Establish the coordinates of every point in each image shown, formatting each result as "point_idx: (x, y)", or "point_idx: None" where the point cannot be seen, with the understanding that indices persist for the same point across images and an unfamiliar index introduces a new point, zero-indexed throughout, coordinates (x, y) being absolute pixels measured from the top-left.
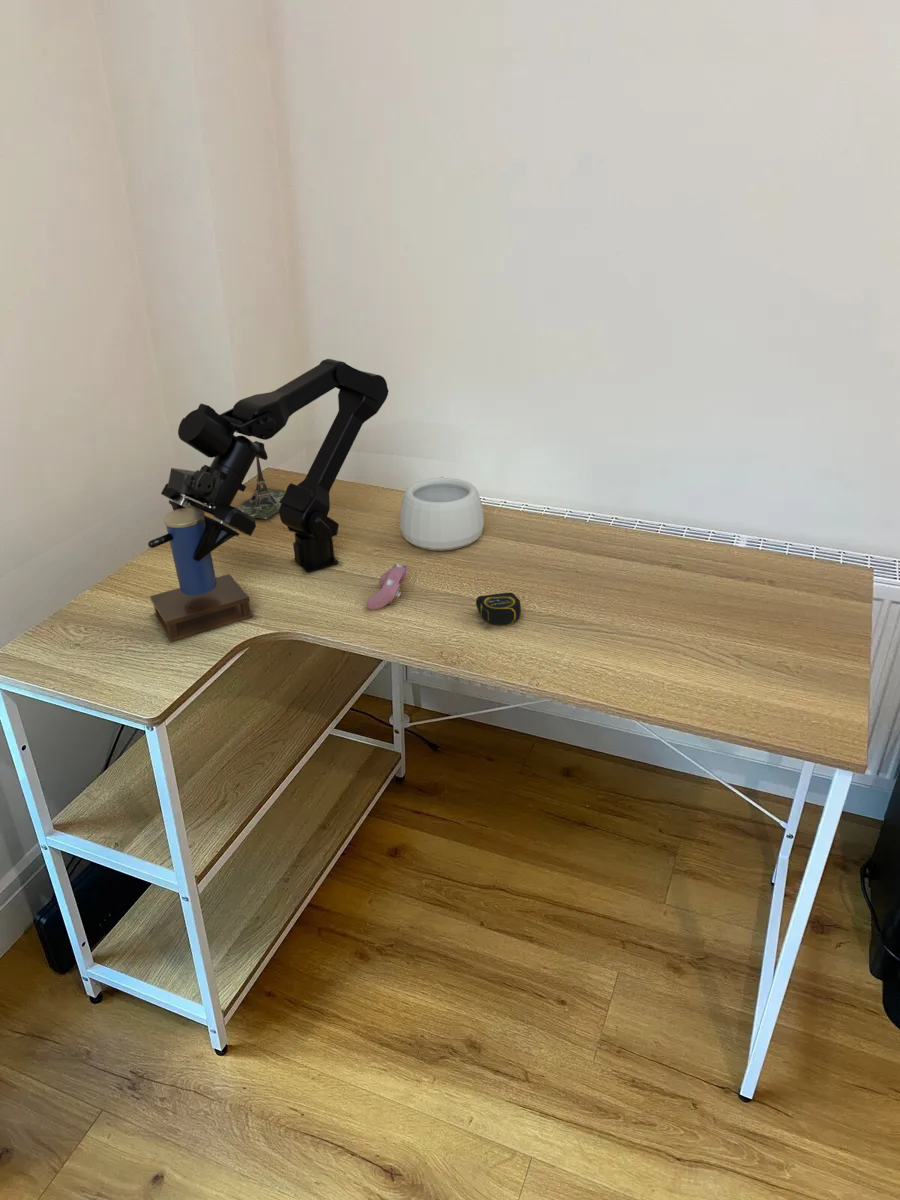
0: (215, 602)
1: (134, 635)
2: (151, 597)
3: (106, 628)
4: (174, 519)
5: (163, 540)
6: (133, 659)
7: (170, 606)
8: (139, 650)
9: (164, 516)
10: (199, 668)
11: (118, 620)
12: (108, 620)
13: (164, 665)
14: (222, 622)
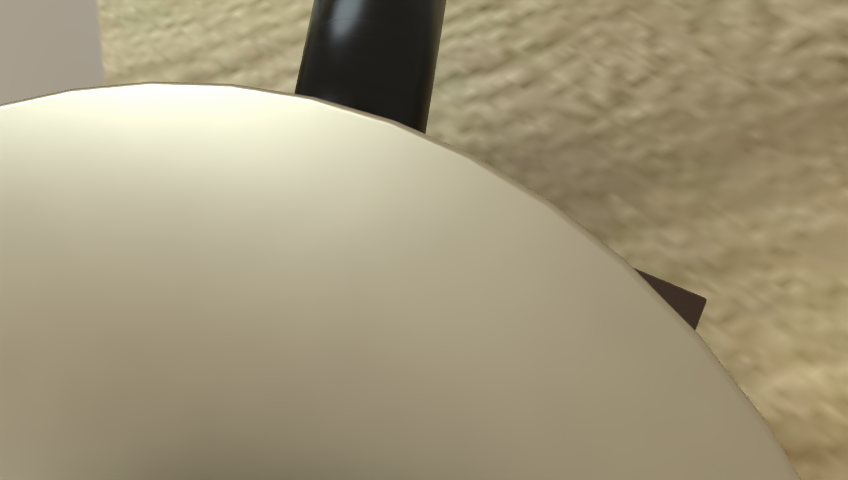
0: None
1: (593, 148)
2: (682, 291)
3: (768, 115)
4: (158, 382)
5: (303, 53)
6: None
7: None
8: (465, 85)
9: (729, 391)
10: None
11: (790, 192)
12: (834, 165)
13: (281, 72)
14: None
